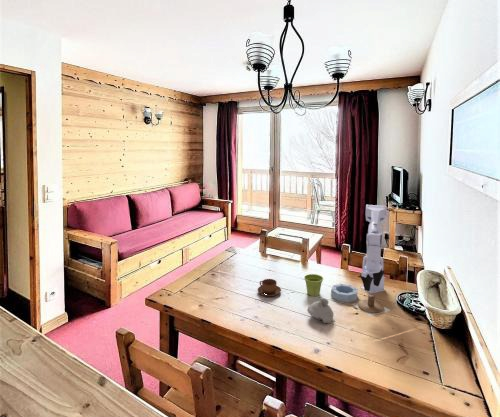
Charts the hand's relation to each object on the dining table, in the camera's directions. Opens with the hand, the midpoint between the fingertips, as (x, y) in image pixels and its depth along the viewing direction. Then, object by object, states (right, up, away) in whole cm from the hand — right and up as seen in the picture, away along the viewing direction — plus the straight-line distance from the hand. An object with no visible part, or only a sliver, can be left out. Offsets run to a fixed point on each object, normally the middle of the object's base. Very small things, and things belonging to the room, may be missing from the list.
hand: (371, 287), depth 145 cm
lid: (0, -9, +2) cm, 10 cm away
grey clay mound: (-25, -12, -6) cm, 28 cm away
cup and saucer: (-45, -8, +19) cm, 50 cm away
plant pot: (-23, -7, +17) cm, 30 cm away
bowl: (-9, -8, +13) cm, 17 cm away
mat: (0, -10, +2) cm, 10 cm away
